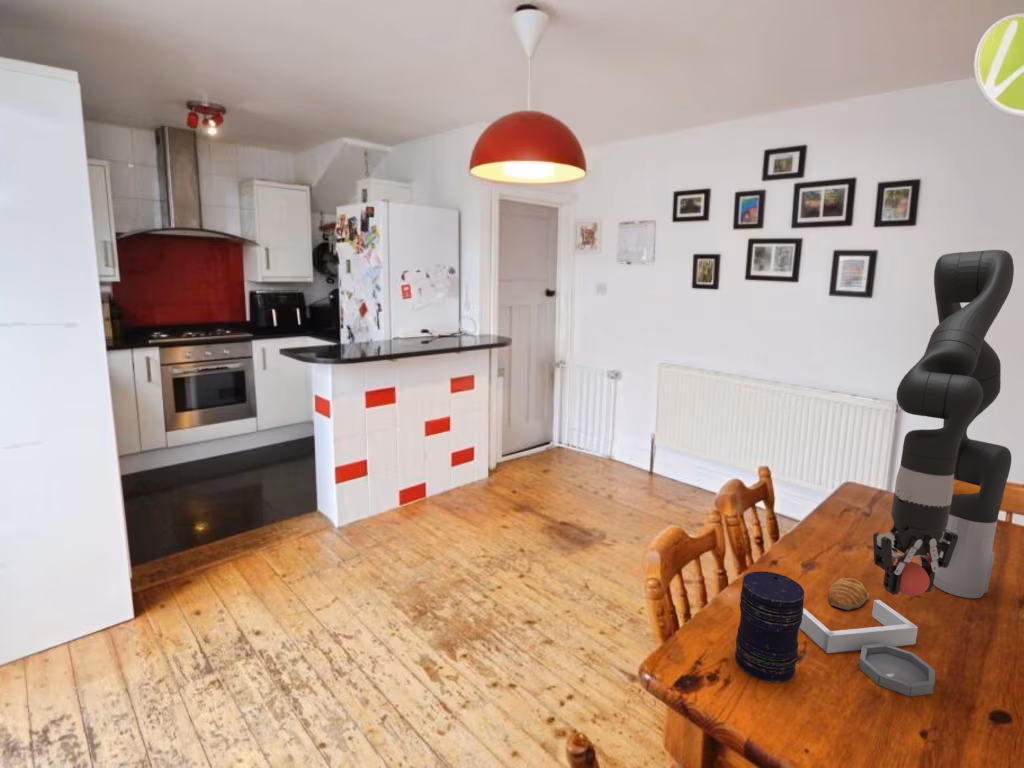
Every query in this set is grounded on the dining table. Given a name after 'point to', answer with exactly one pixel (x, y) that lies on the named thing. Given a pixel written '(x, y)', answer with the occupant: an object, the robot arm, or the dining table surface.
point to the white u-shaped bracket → (862, 631)
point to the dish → (897, 669)
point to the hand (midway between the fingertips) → (907, 590)
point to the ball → (913, 579)
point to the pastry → (847, 594)
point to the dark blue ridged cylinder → (769, 626)
